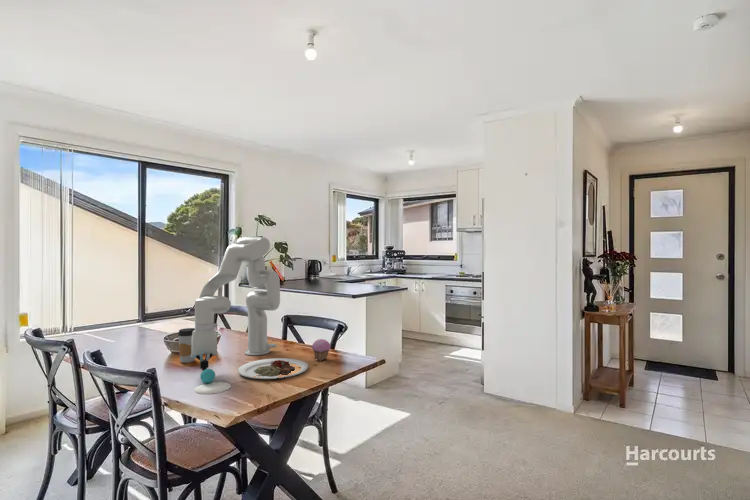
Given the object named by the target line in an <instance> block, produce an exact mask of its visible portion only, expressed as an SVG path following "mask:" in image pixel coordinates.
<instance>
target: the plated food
mask: <svg viewBox="0 0 750 500" xmlns="http://www.w3.org/2000/svg"><path fill="white" fill-rule="evenodd" d="M289 363H290V364H296V365H298V366H300V367H301V370H300V371H299V372H297V373H295V374H292V375H288V374H289V373H291V371H294V370H295V367H293V366H290V364H289ZM260 366H261V367H260ZM308 369H309V364H308V363H307V362H305V361H303V360H300V359H297V358H286V357H285V358H284V357H283V358H282V357H278V358H263V359H258V360H253V361H250V362H247V363H244V364H242V365H240V366H239V368H238V369H237V373H238V374H239V375H240V376H242V377H245V378H249V379H257V380H278V379H277V378H279V379H283V378H284V377H285V378H289V377H293V376H296V375H300V374H301V373H302V374H303V373H304V372H306V371H307V370H308ZM280 374H281V375H288V376H283V377H278V375H280ZM256 375H258V376H260V377H258V376H256ZM253 376H256V377H253Z"/></svg>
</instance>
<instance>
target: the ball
mask: <svg viewBox="0 0 750 500" xmlns="http://www.w3.org/2000/svg"><path fill="white" fill-rule="evenodd" d="M199 378H200V380H201V382H202V383H203V384H207V383H213V381H215V379H216V373H215V371H214V370H213V369H211V368H207V369H206V370H204V371H203V370H202V371H201V374H200V376H199Z"/></svg>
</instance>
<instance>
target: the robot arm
mask: <svg viewBox="0 0 750 500" xmlns="http://www.w3.org/2000/svg"><path fill="white" fill-rule="evenodd" d="M270 249H271V242H270V240H269V238H267V237H265V236H264V237H263V236H243V237H240V238H238V239H237V240H236V243H233V244H231V245H228V246H227V248H226V250H225V252H224V254H223V257H222V261H221V263H220V266H219V269H218V271H217V273H216V274H214V275H213V276H212V277H211V278H210V279H209V280H208V281H207V283H205V285H204V286H203V287H202V289H201V291H200V295H199V298H197V299H195V300H194V328H195V330H194V331H193V332H192V339H191V357H192V358H195V359H198V360H199V364H200V365H199V366H200V369H201V370H202V372H203V371H204V370H206V369H209V361H210V359H211V358H212V357H214V356H217V355H218V342H217V341H218V340H217V332H216V329H215V328H217V327H218V323H216V322H215V321H214V319H215V314H225V313H226V312H227V313H228V311H229V310H230V309H231V305H232V303H231V300H230V299H229V298H228V297H226V296H222V295H215V293H216V292H217V291H218V290H219V289H220V288H221V287H223V286H225V285H227V284H229V283H231V282H233V281H235V280H236V279H237V278H238V275H239V271H240V268H241V265H242V263H247V275H248V277H247V278H248V279H247V280H248V286H249V287H250V288H252V289H257V290H254V291H253V290H252V291H250V292H249V293H248V294H247V295H246V298H245V304H246V310H247V348H246V349H245V350H244V354H245V355H247V356H263V355H267V354H269V353H270V352H271V349H272V348H273V349H274V348H277V343H269V342H268V316H267V314H266V311H277V310H278V309H279V308H280V307H279V306H280V305H281V304H280V303H281V283H280V277H279V274H278V273H277V272H276V271H275V270H271V269H266V261H265V257H264V256H265V255H266V254H268V252H269V250H270ZM258 289H261V290H258ZM262 290H263V291H262ZM264 290H265V291H264ZM204 355H205V358H204Z"/></svg>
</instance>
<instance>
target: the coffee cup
mask: <svg viewBox="0 0 750 500" xmlns="http://www.w3.org/2000/svg"><path fill="white" fill-rule="evenodd" d="M194 330H195V327H187V328H181V329H179V330H178V333H177V335H178V336H177V337H178V352H179V353H178V354H179V361H180V363H182V364H186V363H187V364H188V363H193V362H195V360H196V358H192V357H191V339H192V332H193V331H194Z"/></svg>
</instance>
